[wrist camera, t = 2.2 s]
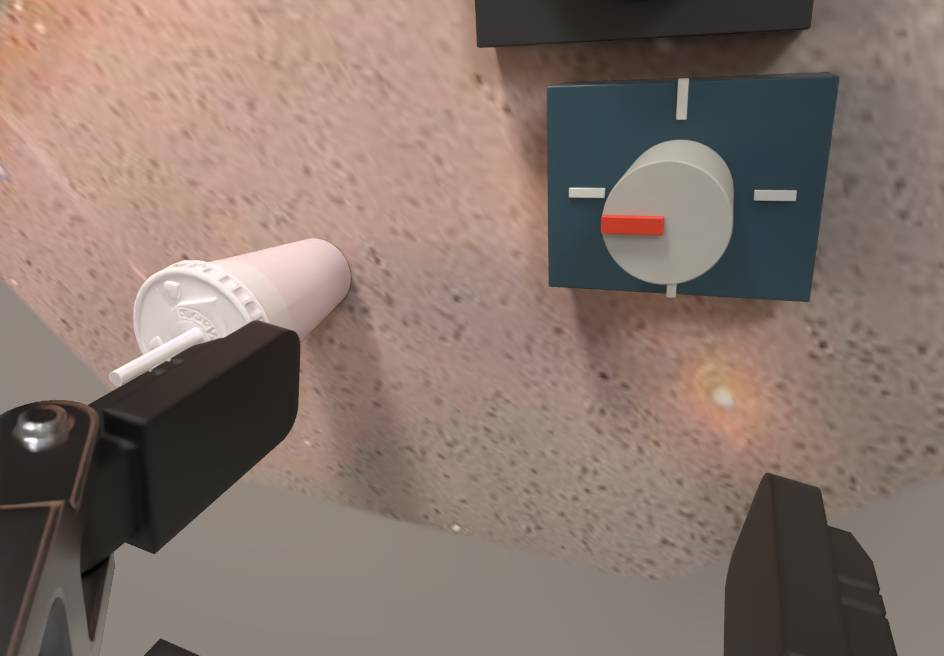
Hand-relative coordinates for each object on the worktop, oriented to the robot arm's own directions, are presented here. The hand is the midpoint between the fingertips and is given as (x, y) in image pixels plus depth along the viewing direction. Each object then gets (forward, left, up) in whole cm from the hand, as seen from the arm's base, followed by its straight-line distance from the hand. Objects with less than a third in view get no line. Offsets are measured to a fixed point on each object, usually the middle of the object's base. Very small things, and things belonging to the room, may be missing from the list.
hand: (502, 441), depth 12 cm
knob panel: (-2, -1, -21) cm, 21 cm away
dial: (-1, -1, -18) cm, 18 cm away
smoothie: (+16, +4, -21) cm, 27 cm away
